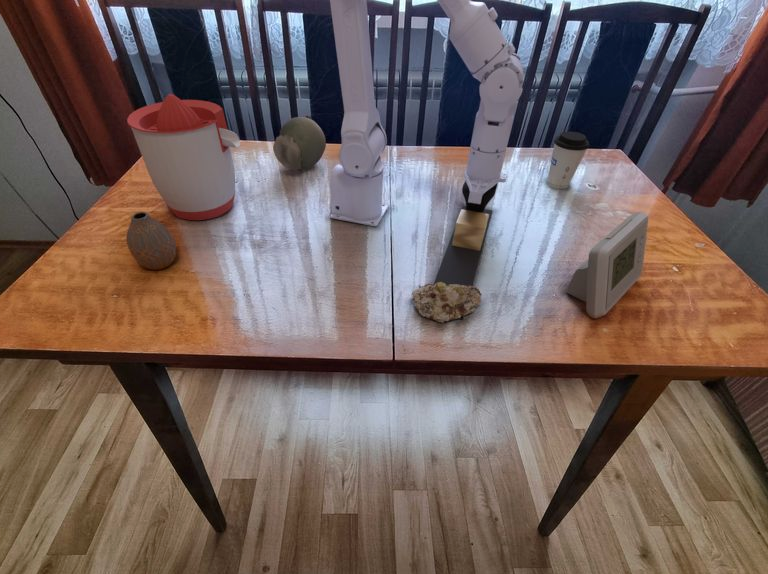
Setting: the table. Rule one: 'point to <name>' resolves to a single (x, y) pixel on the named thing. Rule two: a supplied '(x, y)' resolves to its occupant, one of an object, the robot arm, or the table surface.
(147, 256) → the vase
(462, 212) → the maple block
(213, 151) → the citrus juicer
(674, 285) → the table surface
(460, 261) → the line stripe
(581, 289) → the digital clock
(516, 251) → the table surface
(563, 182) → the coffee cup
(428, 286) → the mineral rock
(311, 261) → the table surface
